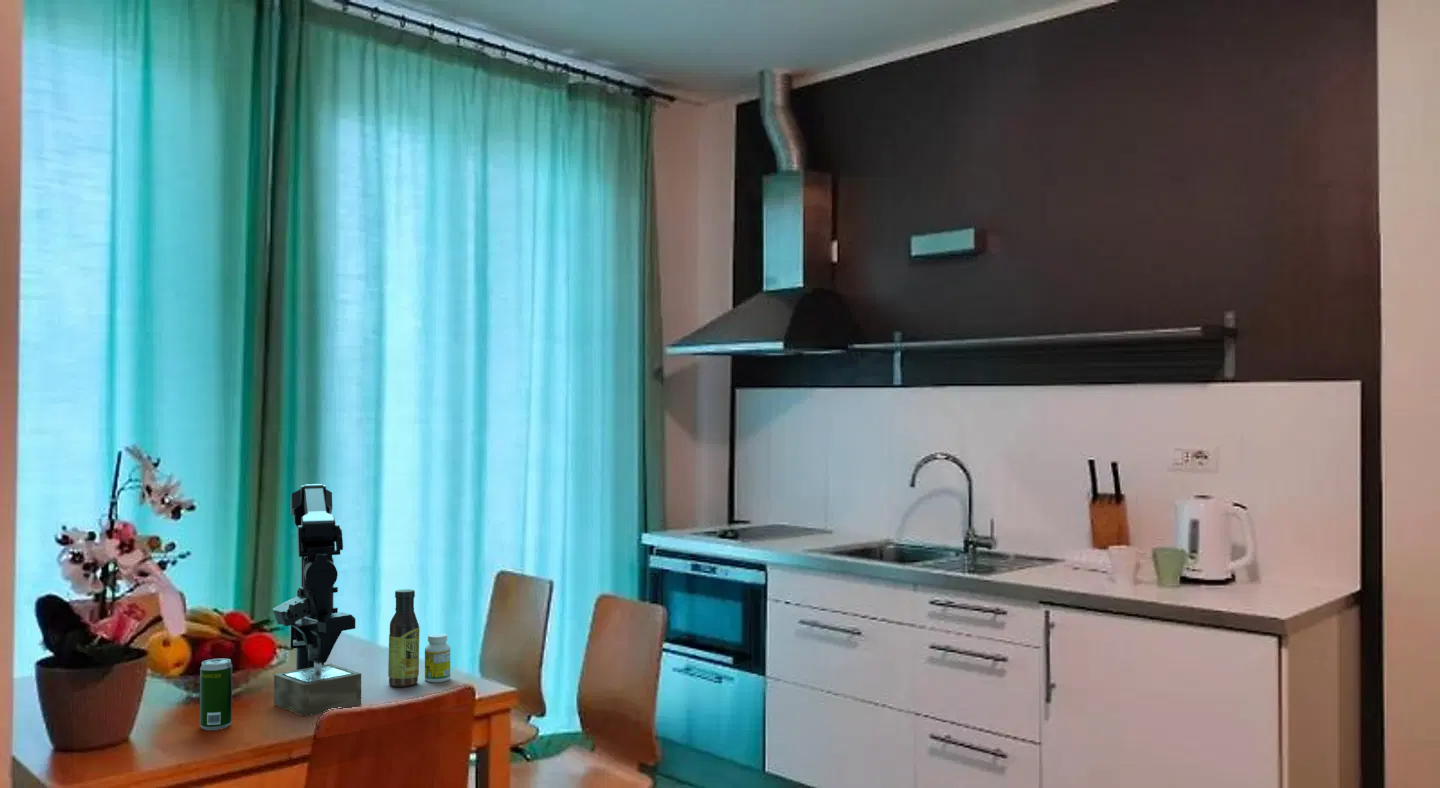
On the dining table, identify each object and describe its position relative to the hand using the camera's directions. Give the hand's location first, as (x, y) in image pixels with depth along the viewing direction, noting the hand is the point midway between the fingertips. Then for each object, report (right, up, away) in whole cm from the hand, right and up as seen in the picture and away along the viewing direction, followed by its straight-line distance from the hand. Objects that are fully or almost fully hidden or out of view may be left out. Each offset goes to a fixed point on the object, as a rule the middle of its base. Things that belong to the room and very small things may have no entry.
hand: (317, 661), depth 218 cm
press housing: (0, -9, 0) cm, 8 cm away
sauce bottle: (+13, -9, +16) cm, 22 cm away
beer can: (-13, -9, -15) cm, 22 cm away
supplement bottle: (+19, -9, +19) cm, 28 cm away
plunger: (0, -3, 0) cm, 3 cm away
